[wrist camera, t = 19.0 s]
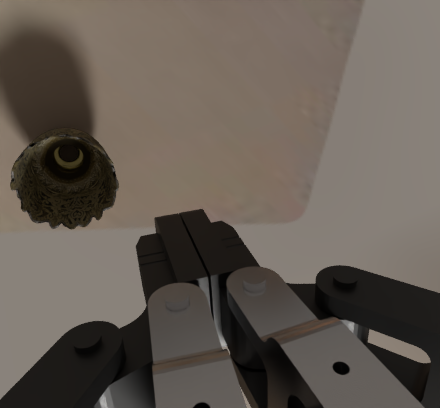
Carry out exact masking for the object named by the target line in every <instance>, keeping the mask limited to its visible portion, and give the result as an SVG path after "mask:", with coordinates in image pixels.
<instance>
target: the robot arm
mask: <svg viewBox="0 0 440 408" xmlns="http://www.w3.org/2000/svg"><path fill="white" fill-rule="evenodd" d="M155 228H156V233H155V234H150V235H145V236H141V237H140V239H139V241H138V243H137V245H136V251H137V257H138V262H139V268H140V275H141V280H142V286H143V291H144V296H145V300H146V305H147V306H146V309H145V310H144V312H143V313H142V314H141V315H140V316H139V317H138V318H137V319H136V320H134V321H133V322H131V323H130V324H128V325H126V326H124V327H122V328H120V329H119V328H118V327H117V326H115V325H114V324H112V323H109V322H104V321H93V322H88V323H84V324H81V325H78V326H76V327H74V328H72V329H71V330H69V331H68V332H67V333H65V334H64V335H63V336H62V337H61V338H60V339H59V340H58V341H57V342H56V343H55V344H54V345H53V346H52V347H51V348H50V349H49V350H48V351H47V352H46V353H45V354H44V355H43V357H41V359H40V360H39V361H38V362H37V363H36V364H35V365H34V366H33V367H32V368H31V369H30V370H29V371H28V372H27V373H26V374H25V375H24V376H23V377H22V378H21V379H20V380H19V381H18V382H17V383H16V384H15V385H14V386H13V387H12V388H11V389H10V390H9V391H8V392H7V393H6V394H5V395H4V396H3V397H2V399H1V400H0V408H246V404H245V401H244V398H243V395H242V392H241V389H242V391H243V393H244V394H245V396H246V398H247V400H248V402H249V404H250V406H251V408H440V293H437V292H434V291H430V290H427V289H424V288H420V287H417V286H414V285H410V284H407V283H404V282H400V281H397V280H394V279H390V278H387V277H384V276H381V275H377V274H374V273H370V272H367V271H364V270H360V269H357V268H354V267H350V266H340V265H339V266H331V267H327V268H325V269H323V270H321V271H320V272H319V273H318V274H317V276H316V284H289V283H285V282H284V280H283V279H282V278H281V277H280V276H279V275H278V274H277V273H276V272H274V271H272V270H270V269H267V268H263V267H260V266H259V264H258V263H257V261H256V260H255V258H254V257H253V255H252V254H251V253H250V251H249V250H248V248H247V247H246V245H244V243H243V241H242V240H241V238H239V235H238V234H237V232H236V231H235V230H234V228H233V227H232V226H230V225H228V224H226V223H225V222H223V221H218V222H212V223H211V222H210V220H209V219H208V217H207V215H206V214H205V212H204V210H203V209H199V210H193V211H188V212H182V213H179V214H178V213H177V214H172V215H166V216H161V217H155ZM369 329H371V330H374V331H377V332H380V333H382V334H385V335H388V336H390V337H393V338H396V339H398V340H401V341H404V342H406V343H409V344H412V345H414V346H417V347H419V348H421V349H422V350H424V351H425V352H426V353H427V355H428V356H429V357H430V360H431V363H419V362H417V361H414V360H411V359H409V358H406V357H404V356H401V355H398V354H396V353H393V352H390V351H388V350H386V349H383V348H380V347H378V346H376V345H373V344H370V343H368V335H369ZM223 346H228V349H229V351H230V355H229V353H228V350H227V349H224V350H223V349H222V347H223ZM240 387H241V389H240Z"/></svg>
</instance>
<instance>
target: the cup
mask: <svg viewBox="0 0 440 408" xmlns="http://www.w3.org/2000/svg"><path fill="white" fill-rule="evenodd" d="M64 145H73V146H75V147H76V148H77V149H78V152H79V155H78V158H77V159H76V160H74V161H72V162H67V161H64V160H63V159H62V158H61V157H60V154H59V151H60V148H61V147H62V146H64ZM11 178H12V180H11V183H10V187H11V190H12V191H13V190H16V192H17V197H18V198H19V199H20V200H21V209H22V211H23V212H26V211H27V212H28V214H29V216H30V219H31V220H32V221H33V222H35V223H43V222H49V225H50V226H51V228H52V229H55V228H57V227H59V225H60V224H61V223H62V224H63V225H64V226H65V227H67V228H69V229H75V228H76V226H80V227H86V226H87V225H88V224H89V223H90V222H91V220H92V217H95V218H96V220H100V219H101V217H102V214H103V211H104V210H106V209H110V208H111V207H112V206H113V205H114V202H115V198H116V191H117V190H118V188H119V183H118V180H117V178H116V174H115V169H114V166H113V162H112V161H111V159H110V158H109V156H108V155H107V153H106V152H105V150H104V149H103V147H102V146H101V145H100V144H99V142H98V141H97V140H95V139H94V138H93V137H92V136H90V135H89V134H87V133H85V132H83V131H80V130H77V129H72V128H59V129H54V130H50V131H48V132H46V133H44V134H42V135H40V136H39V137H37V138H36V139H35V140H34V141H33V142H32V143H31V144H30V145H29V146H28V147H27V148H26V149H25V150H24V151H23V152H22V153H21V155H20V156H19V157H18V159H17V160H16V161H15V163H14V165H13V168H12V172H11Z"/></svg>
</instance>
